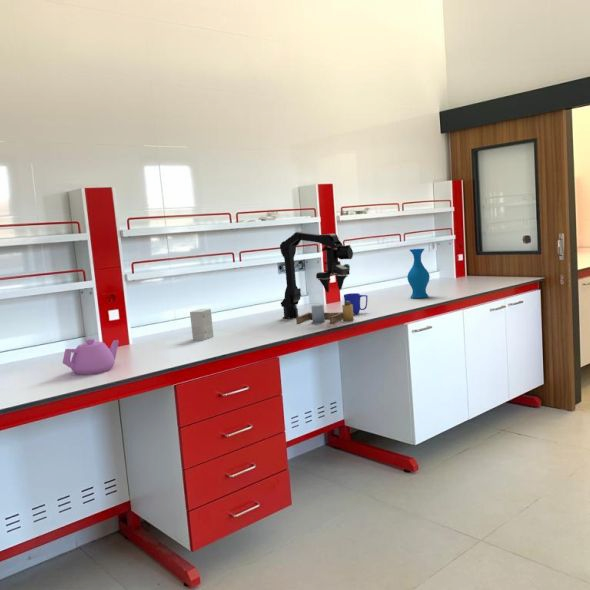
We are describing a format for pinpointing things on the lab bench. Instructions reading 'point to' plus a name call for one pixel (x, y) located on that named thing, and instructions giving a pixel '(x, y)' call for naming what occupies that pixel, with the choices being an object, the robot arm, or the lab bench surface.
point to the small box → (201, 324)
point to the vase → (418, 276)
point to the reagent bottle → (347, 311)
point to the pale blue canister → (318, 313)
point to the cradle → (332, 316)
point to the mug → (355, 301)
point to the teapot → (91, 357)
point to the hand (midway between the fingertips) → (334, 291)
